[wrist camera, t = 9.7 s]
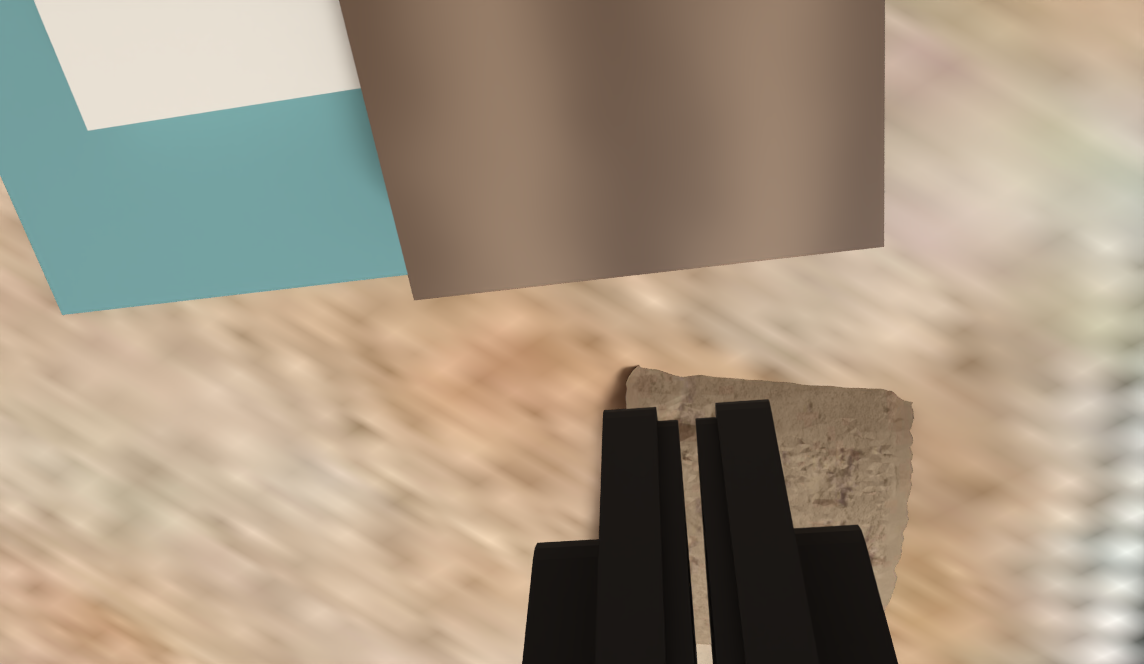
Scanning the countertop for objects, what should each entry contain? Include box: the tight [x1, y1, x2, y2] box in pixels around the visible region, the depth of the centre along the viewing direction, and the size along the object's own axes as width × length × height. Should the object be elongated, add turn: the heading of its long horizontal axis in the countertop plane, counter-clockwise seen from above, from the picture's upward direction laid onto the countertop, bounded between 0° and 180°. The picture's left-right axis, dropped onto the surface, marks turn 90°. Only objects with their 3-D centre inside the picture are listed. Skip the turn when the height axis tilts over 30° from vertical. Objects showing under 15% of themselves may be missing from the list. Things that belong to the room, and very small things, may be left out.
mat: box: [0, 0, 408, 315], centre depth 31 cm, size 12×18×1 cm, turn 8°
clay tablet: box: [626, 365, 914, 644], centre depth 39 cm, size 14×10×3 cm
